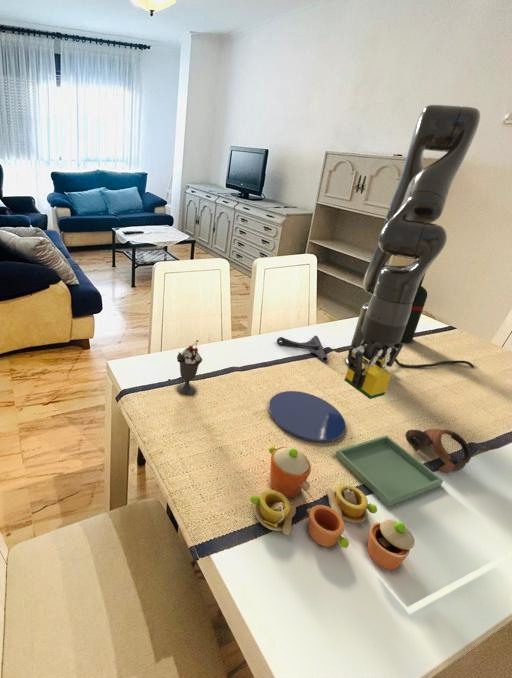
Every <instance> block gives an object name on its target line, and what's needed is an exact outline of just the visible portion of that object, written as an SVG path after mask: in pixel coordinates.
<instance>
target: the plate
mask: <svg viewBox="0 0 512 678" xmlns="http://www.w3.org/2000/svg"><path fill="white" fill-rule="evenodd" d="M268 413H269V415H270V417H271V419H272V421H273V422H274V423H275V424H276V425H277V426H278V427H279V428H281V430H283V431H284V432H286V433H287V434H289V435H291V436H293V437H296V438H297V439H300V440H303V441H307V442H311V443H320V444H327V443H332V442H335V441H337V440H339V439H340V438H341V437H343V435H344V433H345V430H346V422H345V419H344V417H343V415H342V414H341V412H340V411H339V410H338V409H337V408H336V407H335V406H334V405H332V404H331V403H330V402H328V401H327V400H325V399H323V398H321V397H319V396H317V395H314V394H311V393H308V392H303V391H297V390H286V391H280V392H278V393H276V394H274V395H273V396H272V397H271V398H270V400H269V403H268Z"/></svg>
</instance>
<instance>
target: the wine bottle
mask: <svg viewBox="0 0 512 678" xmlns="http://www.w3.org/2000/svg"><path fill="white" fill-rule="evenodd" d="M426 273H427V271H426V272H425V274H424V275H423V277H422V279H421V281H420V283H419V286H418V289H417V292H416V295H415V297H414V300H413V303H412V309H411V313H410V316H409V319H408V322H407V325H406V328H405V331H404V334H403V337H402V339H401V341H400V342H401V343H403V344H410V343H413V339H414V337H415V333H416V330H417V328H418V325H419V322H420V320H421V319H420V318H421V316H422V313H423V310H424V307H425V304H426V301H427V298H428V291H427V289H426V288H425V287H423V286H422V285H423V282H424V278H425V275H426Z"/></svg>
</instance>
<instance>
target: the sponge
mask: <svg viewBox="0 0 512 678" xmlns="http://www.w3.org/2000/svg"><path fill="white" fill-rule="evenodd" d="M364 359H366V358H365V357H364ZM366 360H367V361H369V360H368V359H366ZM364 366H365V364H363V363H362V368H364ZM353 376H354V371H352V370H351V369H349V368H348V367H347V370H346V373H345V377H344V382H346V383H347V384H349V385H350V386H351V387H353V388H354V389H355V390H357V391H358V392H359V393H361V394H362V395H364V396H365V397H366V398H368V399H369V400H372V399H376V398H379V397H383V396H385V394H386V392H387V389H388V386H389V383H390V380H391V378H392V373H390V372H389V371H387V370H386V369H385V370H384V369H382V368H381V367H379V366H377V365H376V364H374V366H373V367H370V368H369V370H368V372H367V374H366V377H365V380H364V383H363V386H362V388H360V389H358V388H357V387H355V386H354V385H353V384H352V379H353Z"/></svg>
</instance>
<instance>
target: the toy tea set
mask: <svg viewBox="0 0 512 678" xmlns="http://www.w3.org/2000/svg"><path fill="white" fill-rule="evenodd" d="M268 452H269V454H271V455H270V472H269V473H270V474H269V476H270V477H269V482H270V486H271V488H272V489H266V490H264V491H262V492H261V493H260V496H258V495H256V494H253V495H251V496H250V502H251V504H253V513H254V515H255V518H256V519H257V521H258V523H260V524H261V525H262V526H263V527H265V528H266V529H268V530H271V531H274V532H282V533H283V535H286V536H290V534H291V532H292V531H291V530H292V523H293V518H294V517H295V516H296V513H297V509H296V507H295V505H293V504H291V503H290V501H289V500H288V498H294V497H297V496H298V495H299V494H300V492H301V490H302V489H303V490H304V491H308V490H309V489H310V487H311V483H309V482H308V481H307V479H308V478H309V476H310V474H311V471H312V466H311V465H312V464H311V462H310V460H309V458H308V457H307V456H306V455H305V454H304V453H302V452H301V451H299V450H297V449H296V448H295V447H289V446H281V447H278V448H276V447H275V446H269V448H268ZM325 492H326V495H327V498H328V504H329V506H328V505H325V504H316V505H314V506H312V507H309V508H307V509H306V513H307V514H308V515H309V517H308V533H309V536H310V538H311V539H312V540H313V541H314V542H315V543H317V544H318V545H320V546H322V547H326V548H329V547H333V546H334V545H336V543H337V542H338V545H339V546H340V547H341V548H343V549H347V548H348V547H349V545H350V542H349V540H348V539H347V537H344V536H342V534H343V533H344V532H345V527H346V526H345V522H347V523H351V524H361V523H364V522H365V521H366V520H367V518H368V512H369V513H371V514H376V513H378V508H377V505H375V504H374V503H369V500H368V498H367V496H366V494H365V493H364V492H363V491H362V490H361V489H359V488H357V487H355V486H354V485H351V484H349V483H346V484H339V485H338V486H337V488H336V490H333V488H332V487H331V486H327V487H326V488H325ZM369 528H370V529H369V534H368V539H367V540H368V541H367V553H368V555H369V557H370V558H371V560H372V561H373V562H374V563H375V564H376V565H378V566H379V567H381V568H383V569H385V570H388V571H390V570H391V571H393V570H396V569H398V567H399V566H400V565H401V564H402V563H403V561H405V559H406V558H407V557H408V556H409V554H410V551H411V549H413V547H414V546H415V543H416V542H415V537H414V535H413V533H412V532H411V530H410V529H409V528H408V527H407V526H406V525H405V524H404V523H403V522H402V521H397V520H394V519H390V518H389V519H384V520H382V521H381V522H376V523H373V524H372V525H371V526H370V527H369Z"/></svg>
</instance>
